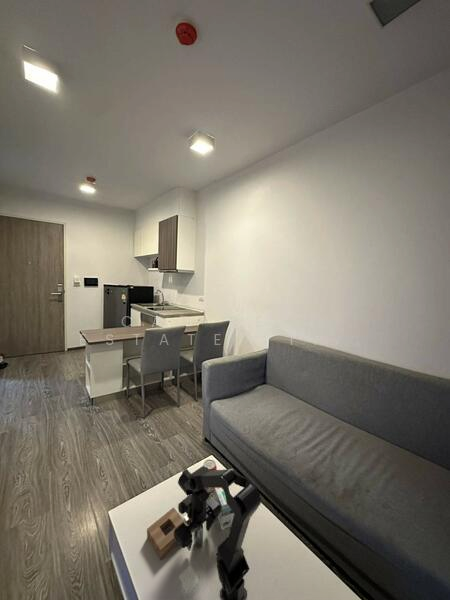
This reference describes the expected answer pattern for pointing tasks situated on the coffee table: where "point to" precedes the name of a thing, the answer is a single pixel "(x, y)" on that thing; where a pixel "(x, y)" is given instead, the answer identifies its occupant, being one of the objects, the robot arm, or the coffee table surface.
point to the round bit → (198, 537)
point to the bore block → (157, 536)
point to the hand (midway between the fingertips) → (198, 539)
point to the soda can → (211, 466)
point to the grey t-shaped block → (187, 518)
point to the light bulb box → (224, 508)
